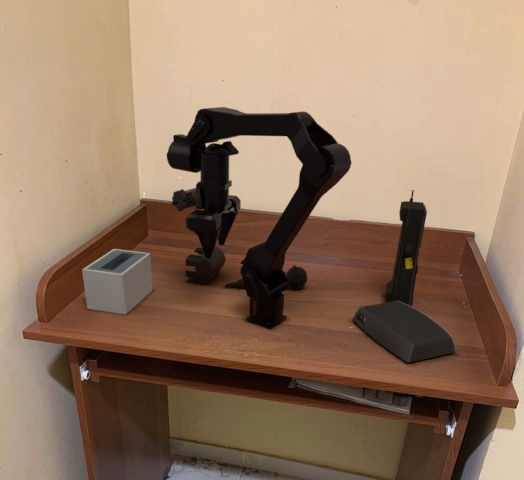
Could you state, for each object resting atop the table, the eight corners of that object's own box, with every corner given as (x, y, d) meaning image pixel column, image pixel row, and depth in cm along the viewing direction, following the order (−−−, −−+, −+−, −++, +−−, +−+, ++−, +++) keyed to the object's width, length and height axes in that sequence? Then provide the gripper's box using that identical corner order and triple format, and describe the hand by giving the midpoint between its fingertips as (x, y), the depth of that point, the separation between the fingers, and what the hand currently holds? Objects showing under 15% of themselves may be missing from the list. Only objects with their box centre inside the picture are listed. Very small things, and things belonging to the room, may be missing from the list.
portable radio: (412, 311, 118) (434, 200, 106) (385, 308, 119) (404, 197, 107) (410, 297, 125) (431, 191, 112) (385, 294, 126) (403, 189, 113)
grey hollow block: (150, 253, 118) (113, 248, 120) (122, 274, 106) (81, 269, 108) (152, 289, 122) (117, 285, 124) (125, 314, 111) (87, 308, 112)
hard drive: (398, 313, 117) (401, 296, 115) (458, 354, 102) (463, 335, 100) (349, 321, 112) (351, 304, 110) (404, 365, 97) (408, 346, 95)
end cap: (213, 287, 125) (213, 260, 122) (185, 283, 127) (184, 256, 123) (225, 272, 134) (225, 247, 131) (199, 269, 135) (199, 243, 132)
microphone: (226, 302, 125) (308, 292, 126) (224, 283, 121) (309, 274, 122) (225, 287, 129) (305, 278, 130) (222, 269, 125) (305, 259, 125)
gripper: (192, 165, 114) (194, 234, 121) (158, 182, 98) (162, 261, 105) (242, 169, 112) (240, 240, 119) (215, 187, 96) (215, 268, 103)
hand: (214, 251), depth 112 cm, fingers open, 9 cm apart
